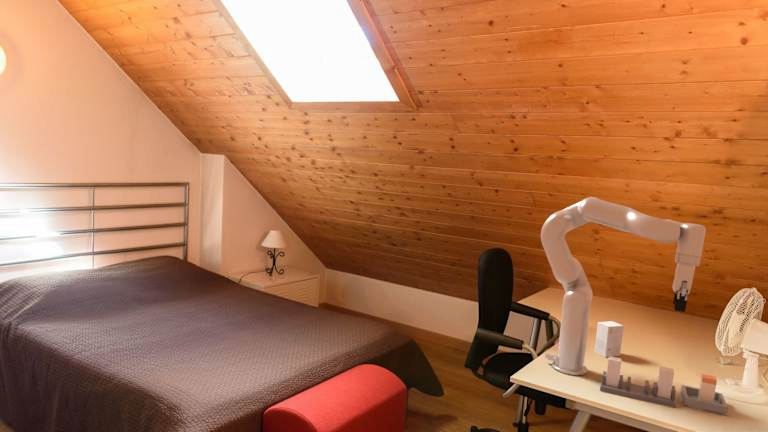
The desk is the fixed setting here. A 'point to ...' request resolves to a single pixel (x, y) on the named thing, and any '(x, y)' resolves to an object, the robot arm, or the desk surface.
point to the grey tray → (692, 401)
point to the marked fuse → (707, 388)
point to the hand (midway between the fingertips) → (678, 308)
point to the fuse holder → (657, 394)
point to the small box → (608, 339)
